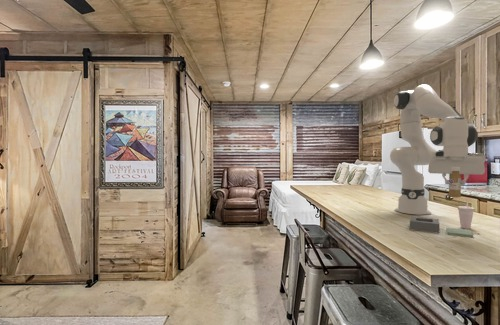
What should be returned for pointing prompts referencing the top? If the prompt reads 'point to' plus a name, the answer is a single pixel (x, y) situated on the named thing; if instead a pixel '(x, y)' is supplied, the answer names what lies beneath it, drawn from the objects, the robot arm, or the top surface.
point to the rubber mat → (459, 232)
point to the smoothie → (465, 216)
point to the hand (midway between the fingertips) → (455, 184)
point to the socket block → (424, 224)
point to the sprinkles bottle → (455, 182)
